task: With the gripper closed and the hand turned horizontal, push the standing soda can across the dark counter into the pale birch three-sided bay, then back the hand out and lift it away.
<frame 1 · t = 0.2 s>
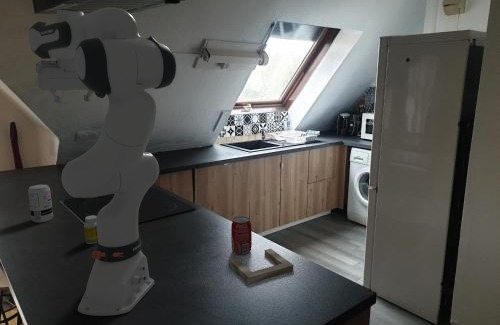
hand: (72, 101, 127), 52 cm above the counter, tool tilted 20°, fingers open, 8 cm apart
soda can: (241, 252, 130), on the counter
birch bay: (258, 265, 120), on the counter
supplement can: (42, 220, 162), on the counter
supplement bottle: (93, 241, 139), on the counter
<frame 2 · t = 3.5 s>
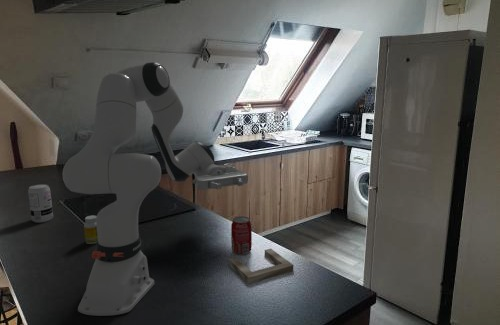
hand: (230, 185, 133), 22 cm above the counter, tool horizontal, fingers open, 7 cm apart
nothing on the counter moved.
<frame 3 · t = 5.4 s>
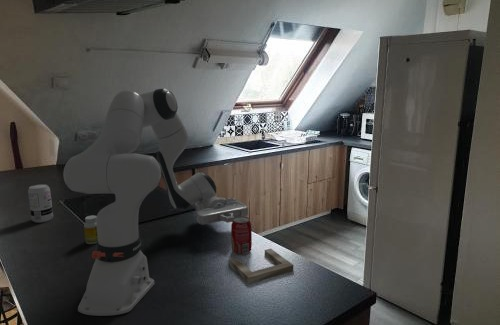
hand: (231, 220, 136), 9 cm above the counter, tool horizontal, fingers closed
nothing on the counter moved.
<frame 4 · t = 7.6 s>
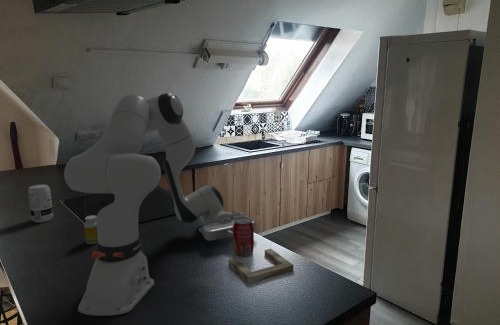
hand: (238, 236, 131), 5 cm above the counter, tool horizontal, fingers closed
soda can: (243, 253, 129), on the counter, touching gripper
everything else where it was.
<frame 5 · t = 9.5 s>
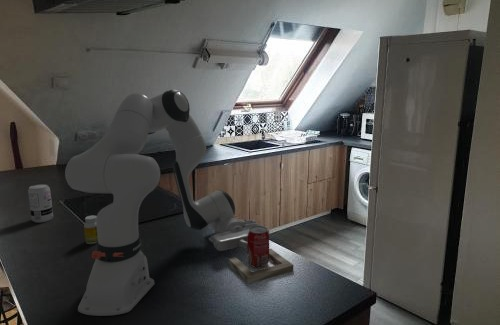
hand: (252, 246, 123), 5 cm above the counter, tool horizontal, fingers closed, pressing on soda can
soda can: (258, 264, 121), on the counter, touching gripper
everything else where it was.
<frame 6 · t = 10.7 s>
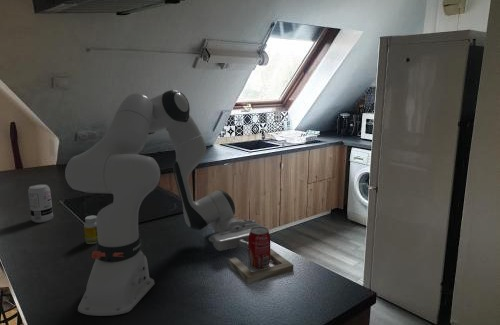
hand: (251, 245, 123), 5 cm above the counter, tool horizontal, fingers closed
soda can: (259, 265, 121), on the counter
everything else where it was.
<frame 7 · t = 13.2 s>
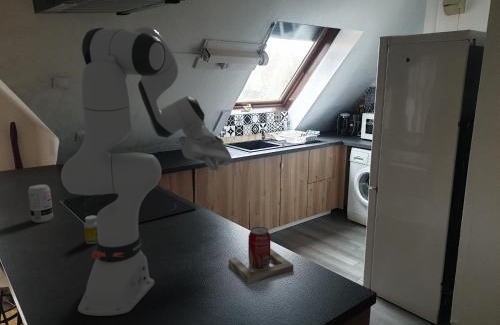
hand: (214, 168, 129), 29 cm above the counter, tool tilted 55°, fingers closed
nothing on the counter moved.
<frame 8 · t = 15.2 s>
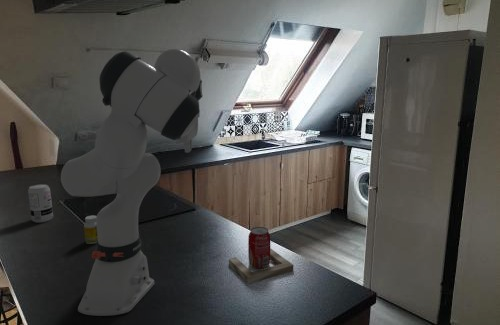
hand: (188, 151, 131), 34 cm above the counter, tool pointing down, fingers closed
nothing on the counter moved.
at the end: soda can 0.7 cm off-centre on the birch bay, point 0.0 cm above the birch bay's base; soda can tilted 0°; the gripper is holding nothing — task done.
